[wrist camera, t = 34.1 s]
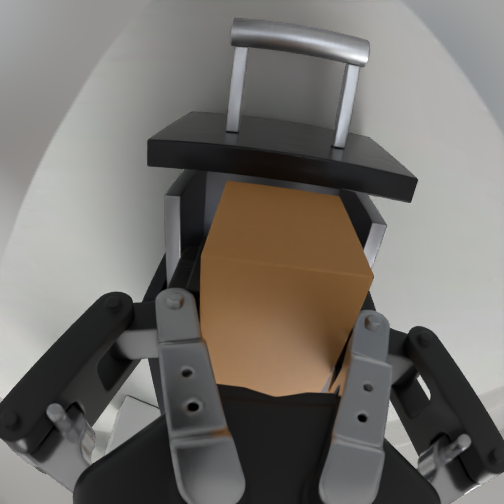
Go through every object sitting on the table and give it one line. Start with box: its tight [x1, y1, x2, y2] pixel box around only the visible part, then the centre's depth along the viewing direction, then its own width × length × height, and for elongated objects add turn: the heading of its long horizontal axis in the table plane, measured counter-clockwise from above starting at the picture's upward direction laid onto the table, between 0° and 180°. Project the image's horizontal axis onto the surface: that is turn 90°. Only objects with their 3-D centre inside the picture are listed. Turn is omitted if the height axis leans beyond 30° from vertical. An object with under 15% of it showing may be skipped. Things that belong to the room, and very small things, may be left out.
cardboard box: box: [200, 181, 374, 397], centre depth 12 cm, size 6×5×5 cm
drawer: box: [147, 18, 418, 288], centre depth 17 cm, size 19×11×8 cm, turn 173°
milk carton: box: [104, 396, 161, 456], centre depth 33 cm, size 7×7×19 cm
